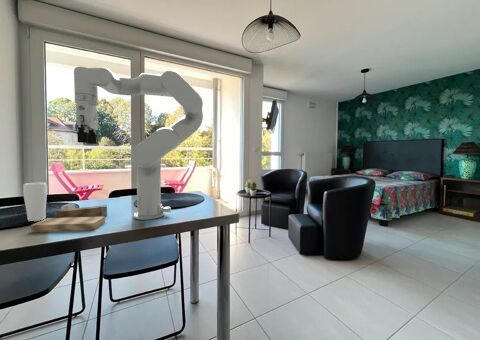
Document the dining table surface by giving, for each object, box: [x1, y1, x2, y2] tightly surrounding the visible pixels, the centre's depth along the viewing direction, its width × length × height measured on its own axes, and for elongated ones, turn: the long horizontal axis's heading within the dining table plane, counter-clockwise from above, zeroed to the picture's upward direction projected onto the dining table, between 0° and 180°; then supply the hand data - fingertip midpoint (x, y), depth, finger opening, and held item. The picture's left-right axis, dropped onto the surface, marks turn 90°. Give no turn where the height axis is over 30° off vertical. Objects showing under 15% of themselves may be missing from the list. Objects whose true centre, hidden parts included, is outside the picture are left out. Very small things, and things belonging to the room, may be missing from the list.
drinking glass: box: [22, 181, 48, 222], centre depth 85 cm, size 7×7×15 cm
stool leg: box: [53, 204, 108, 218], centre depth 88 cm, size 18×3×4 cm, turn 125°
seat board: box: [30, 216, 106, 233], centre depth 79 cm, size 20×9×2 cm, turn 100°
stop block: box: [61, 202, 76, 210], centre depth 95 cm, size 2×5×4 cm, turn 10°
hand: (87, 143), depth 86 cm, fingers open, 9 cm apart
